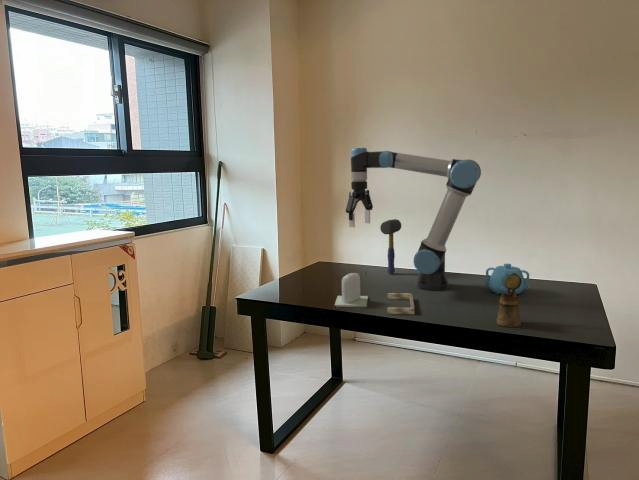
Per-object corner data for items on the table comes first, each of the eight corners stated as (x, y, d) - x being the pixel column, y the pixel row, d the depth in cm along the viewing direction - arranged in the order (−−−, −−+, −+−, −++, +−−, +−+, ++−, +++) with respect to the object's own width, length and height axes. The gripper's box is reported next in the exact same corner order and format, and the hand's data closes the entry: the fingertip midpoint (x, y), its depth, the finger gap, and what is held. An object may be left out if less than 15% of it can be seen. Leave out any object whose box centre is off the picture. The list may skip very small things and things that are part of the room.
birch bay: (411, 298, 224) (411, 293, 224) (414, 314, 203) (414, 308, 202) (387, 298, 226) (387, 293, 225) (387, 314, 204) (387, 308, 204)
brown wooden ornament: (525, 318, 194) (527, 273, 191) (518, 329, 183) (520, 282, 180) (501, 315, 199) (503, 271, 196) (493, 325, 188) (495, 279, 184)
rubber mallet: (391, 277, 263) (391, 221, 258) (379, 275, 268) (379, 220, 262) (402, 272, 273) (402, 218, 268) (390, 270, 277) (390, 218, 272)
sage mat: (367, 297, 228) (367, 295, 228) (366, 307, 214) (366, 305, 214) (337, 297, 230) (337, 295, 230) (334, 306, 216) (334, 304, 216)
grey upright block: (348, 304, 217) (347, 276, 214) (340, 302, 219) (339, 275, 217) (361, 298, 224) (361, 272, 222) (354, 296, 227) (353, 270, 225)
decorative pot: (498, 298, 221) (499, 269, 218) (481, 288, 237) (482, 261, 234) (532, 296, 223) (533, 267, 221) (513, 286, 239) (515, 259, 236)
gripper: (366, 179, 246) (367, 221, 250) (337, 182, 226) (338, 228, 230) (379, 179, 241) (380, 222, 245) (351, 182, 222) (351, 229, 226)
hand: (359, 225), depth 238 cm, fingers open, 13 cm apart
